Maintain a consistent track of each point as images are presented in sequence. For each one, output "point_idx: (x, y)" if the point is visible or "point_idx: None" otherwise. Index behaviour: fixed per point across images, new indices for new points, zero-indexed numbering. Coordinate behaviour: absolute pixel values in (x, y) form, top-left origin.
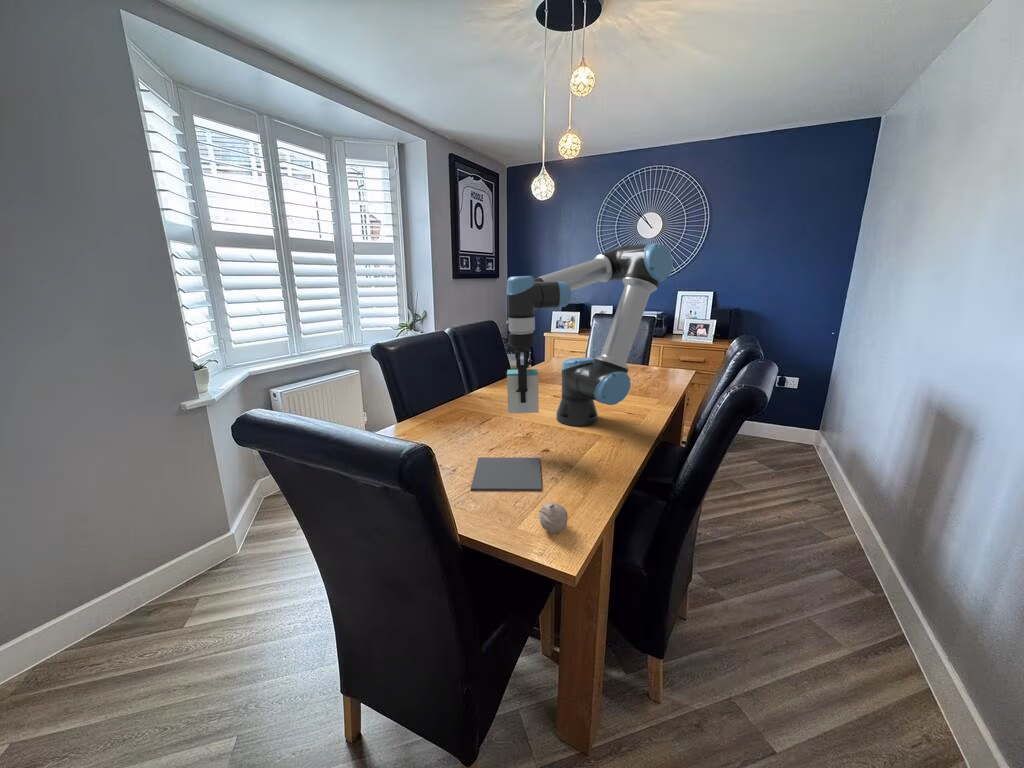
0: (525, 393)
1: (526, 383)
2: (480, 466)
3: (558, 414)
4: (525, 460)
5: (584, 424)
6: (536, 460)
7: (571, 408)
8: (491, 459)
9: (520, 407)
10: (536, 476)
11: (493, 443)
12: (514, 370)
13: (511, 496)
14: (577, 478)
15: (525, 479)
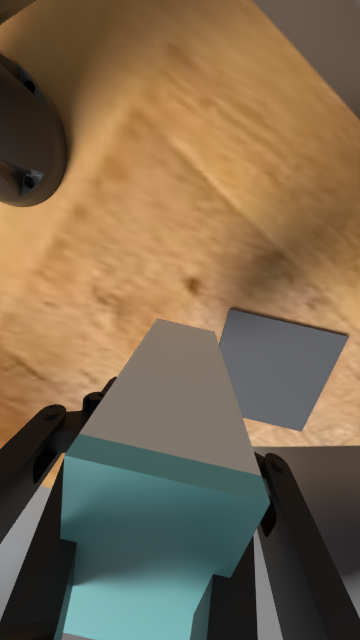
0: None
1: (311, 520)
2: None
3: (11, 198)
4: (235, 337)
5: (62, 135)
6: (241, 318)
7: (10, 148)
8: None
9: None
10: (303, 334)
11: None
12: (86, 608)
13: (340, 381)
14: (330, 259)
15: (306, 353)
